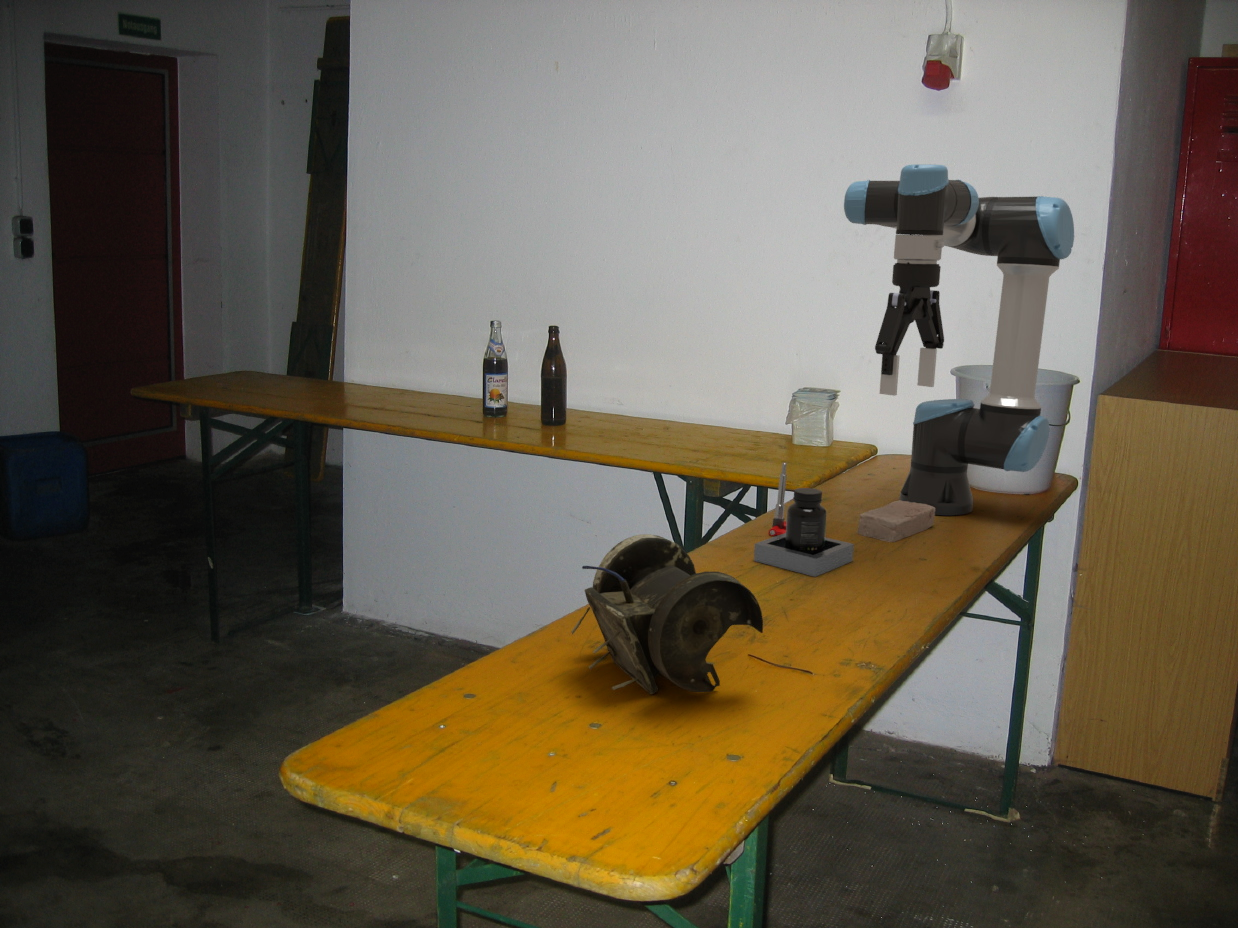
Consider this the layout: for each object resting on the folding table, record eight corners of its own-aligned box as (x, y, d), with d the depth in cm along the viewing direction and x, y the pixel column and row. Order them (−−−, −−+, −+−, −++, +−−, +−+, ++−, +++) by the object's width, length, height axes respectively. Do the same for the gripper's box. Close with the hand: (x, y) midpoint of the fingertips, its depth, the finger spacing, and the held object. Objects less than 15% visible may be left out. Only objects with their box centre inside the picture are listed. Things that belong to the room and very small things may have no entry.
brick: (893, 544, 205) (895, 520, 204) (854, 535, 210) (856, 511, 209) (935, 528, 217) (937, 506, 216) (897, 520, 222) (899, 498, 221)
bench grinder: (706, 610, 156) (651, 492, 149) (789, 659, 136) (730, 526, 129) (589, 687, 150) (526, 569, 144) (658, 751, 130) (589, 616, 124)
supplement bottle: (830, 556, 193) (834, 490, 190) (812, 565, 187) (817, 497, 185) (795, 548, 196) (799, 484, 194) (777, 557, 191) (781, 491, 188)
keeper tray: (792, 546, 201) (793, 530, 200) (852, 561, 193) (853, 543, 192) (753, 560, 191) (754, 543, 191) (815, 576, 183) (816, 558, 183)
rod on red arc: (829, 535, 211) (780, 525, 215) (837, 465, 208) (787, 457, 212) (817, 547, 203) (766, 537, 207) (825, 475, 200) (773, 466, 203)
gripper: (902, 264, 166) (892, 401, 171) (971, 261, 185) (960, 385, 189) (858, 262, 171) (850, 395, 176) (929, 260, 189) (920, 380, 194)
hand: (907, 390), depth 183 cm, fingers open, 13 cm apart
